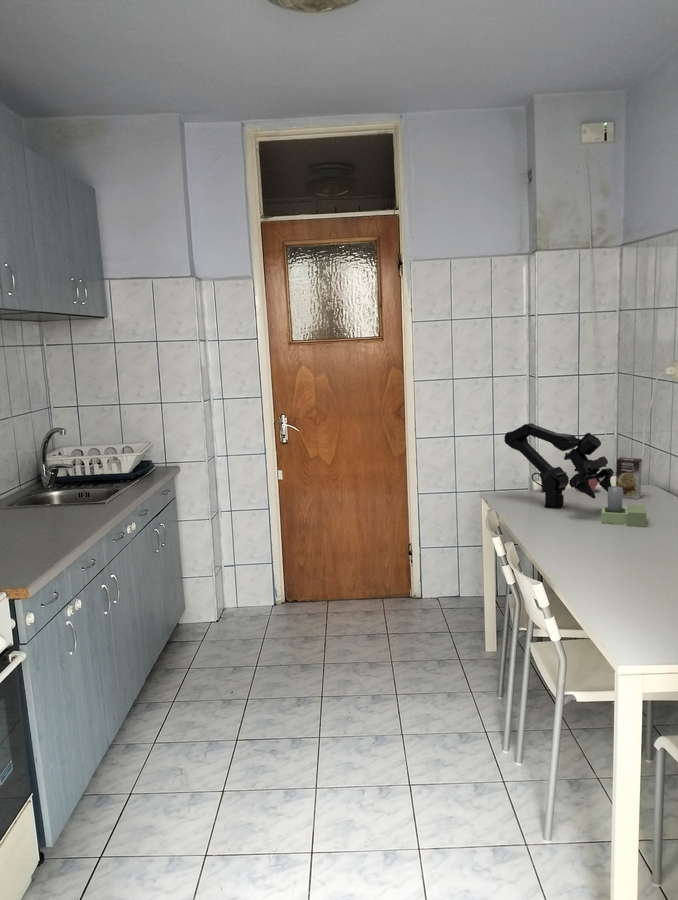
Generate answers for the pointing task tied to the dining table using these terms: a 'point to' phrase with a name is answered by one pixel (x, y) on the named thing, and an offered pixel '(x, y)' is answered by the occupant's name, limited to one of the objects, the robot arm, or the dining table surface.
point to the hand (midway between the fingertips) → (603, 496)
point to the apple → (593, 483)
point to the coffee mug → (541, 478)
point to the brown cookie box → (629, 477)
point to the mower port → (626, 516)
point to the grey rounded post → (615, 499)
